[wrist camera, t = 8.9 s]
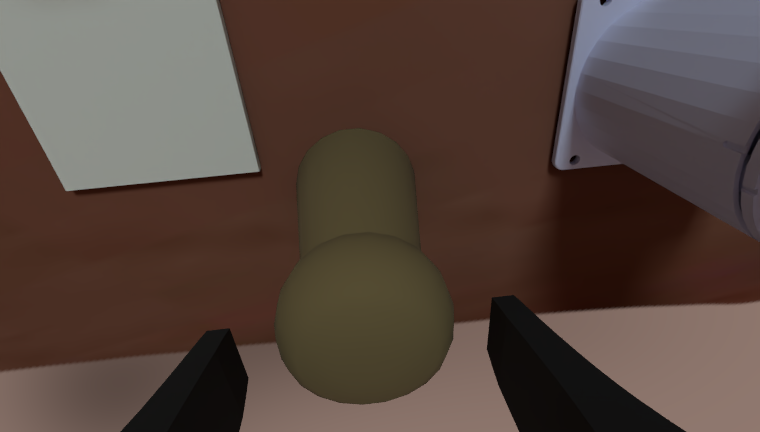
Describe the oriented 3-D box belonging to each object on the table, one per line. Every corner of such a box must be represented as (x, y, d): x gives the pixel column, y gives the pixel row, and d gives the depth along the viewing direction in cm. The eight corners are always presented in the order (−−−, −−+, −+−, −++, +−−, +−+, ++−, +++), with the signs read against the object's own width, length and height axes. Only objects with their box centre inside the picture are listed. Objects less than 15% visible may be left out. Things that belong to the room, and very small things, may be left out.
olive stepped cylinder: (340, 254, 21) (337, 460, 12) (271, 170, 18) (191, 351, 9) (435, 201, 20) (518, 381, 10) (376, 103, 17) (415, 227, 8)
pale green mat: (204, -60, 14) (200, -61, 13) (261, 168, 18) (259, 171, 18) (-50, -40, 13) (-61, -41, 13) (71, 187, 18) (66, 191, 18)
